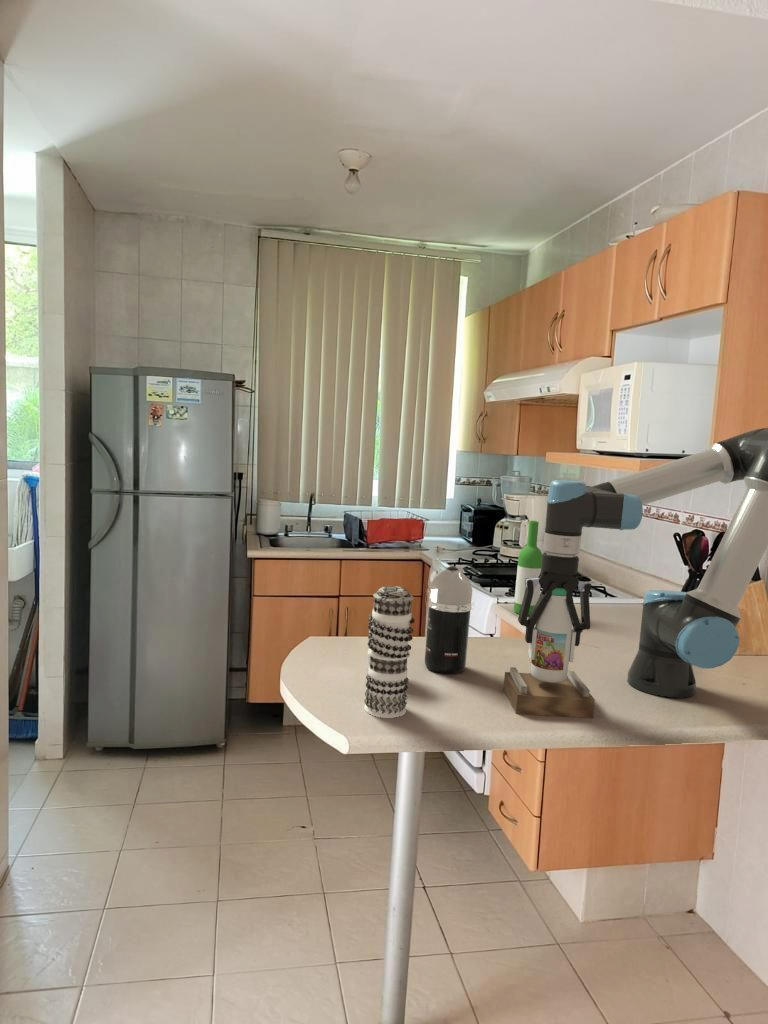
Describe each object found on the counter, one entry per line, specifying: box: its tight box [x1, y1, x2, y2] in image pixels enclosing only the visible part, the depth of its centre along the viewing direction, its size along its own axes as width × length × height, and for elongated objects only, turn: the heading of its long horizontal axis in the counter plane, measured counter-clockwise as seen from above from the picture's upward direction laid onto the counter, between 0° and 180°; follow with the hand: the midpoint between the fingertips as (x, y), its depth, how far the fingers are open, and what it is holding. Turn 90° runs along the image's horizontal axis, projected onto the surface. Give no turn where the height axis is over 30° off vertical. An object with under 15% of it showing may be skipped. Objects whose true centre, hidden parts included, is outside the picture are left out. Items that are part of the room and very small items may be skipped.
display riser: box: [503, 666, 596, 719], centre depth 157 cm, size 16×14×6 cm
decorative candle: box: [363, 585, 416, 719], centre depth 146 cm, size 9×9×25 cm
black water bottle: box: [424, 565, 473, 675], centre depth 174 cm, size 10×10×25 cm
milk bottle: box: [530, 587, 573, 683], centre depth 155 cm, size 8×8×20 cm
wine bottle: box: [513, 520, 543, 617], centre depth 233 cm, size 8×8×30 cm
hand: (550, 658), depth 156 cm, fingers closed on milk bottle, 8 cm apart
